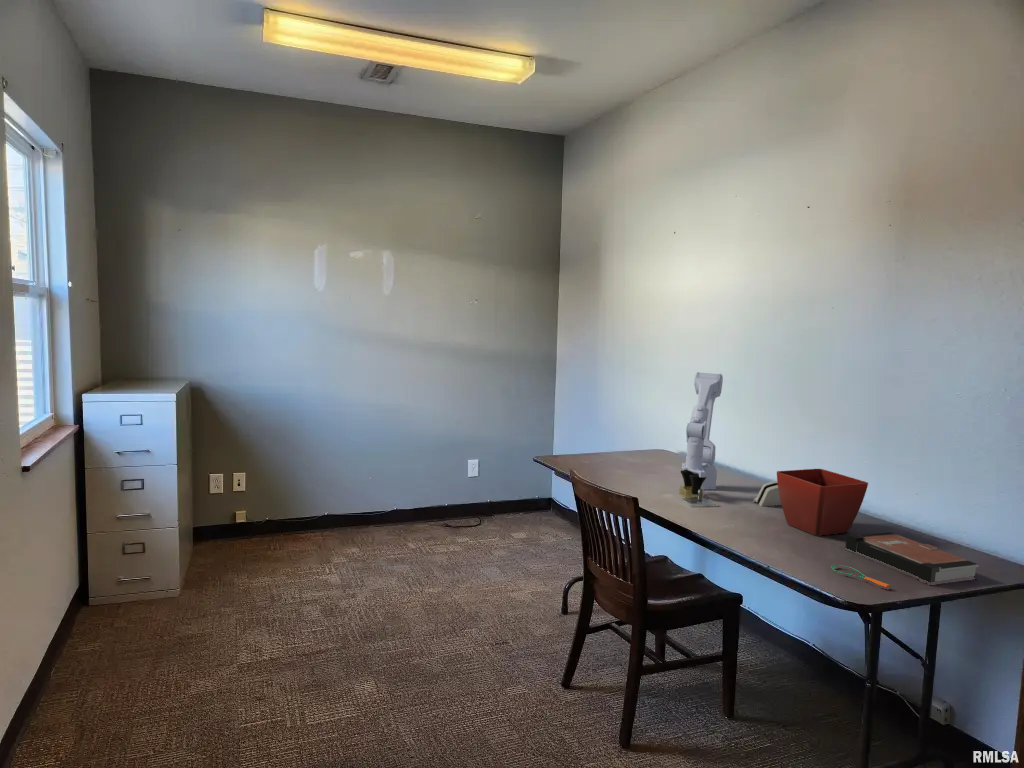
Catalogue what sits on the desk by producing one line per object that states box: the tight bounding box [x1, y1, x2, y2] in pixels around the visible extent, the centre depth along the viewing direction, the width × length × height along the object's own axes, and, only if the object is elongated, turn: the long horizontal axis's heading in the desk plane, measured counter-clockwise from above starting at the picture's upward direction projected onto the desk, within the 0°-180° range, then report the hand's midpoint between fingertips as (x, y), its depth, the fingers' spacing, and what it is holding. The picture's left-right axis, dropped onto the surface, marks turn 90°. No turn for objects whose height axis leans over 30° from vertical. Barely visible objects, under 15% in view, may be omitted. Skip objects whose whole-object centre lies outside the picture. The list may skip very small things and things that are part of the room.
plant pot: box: [776, 468, 869, 537], centre depth 209 cm, size 19×19×17 cm
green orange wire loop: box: [830, 564, 891, 587], centre depth 169 cm, size 15×6×2 cm, turn 27°
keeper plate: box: [681, 489, 719, 508], centre depth 233 cm, size 10×7×5 cm
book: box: [845, 531, 980, 583], centre depth 182 cm, size 26×18×5 cm
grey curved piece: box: [752, 480, 782, 507], centre depth 237 cm, size 17×5×10 cm, turn 104°
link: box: [679, 485, 705, 498], centre depth 243 cm, size 7×5×3 cm
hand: (691, 492), depth 243 cm, fingers closed on link, 5 cm apart
